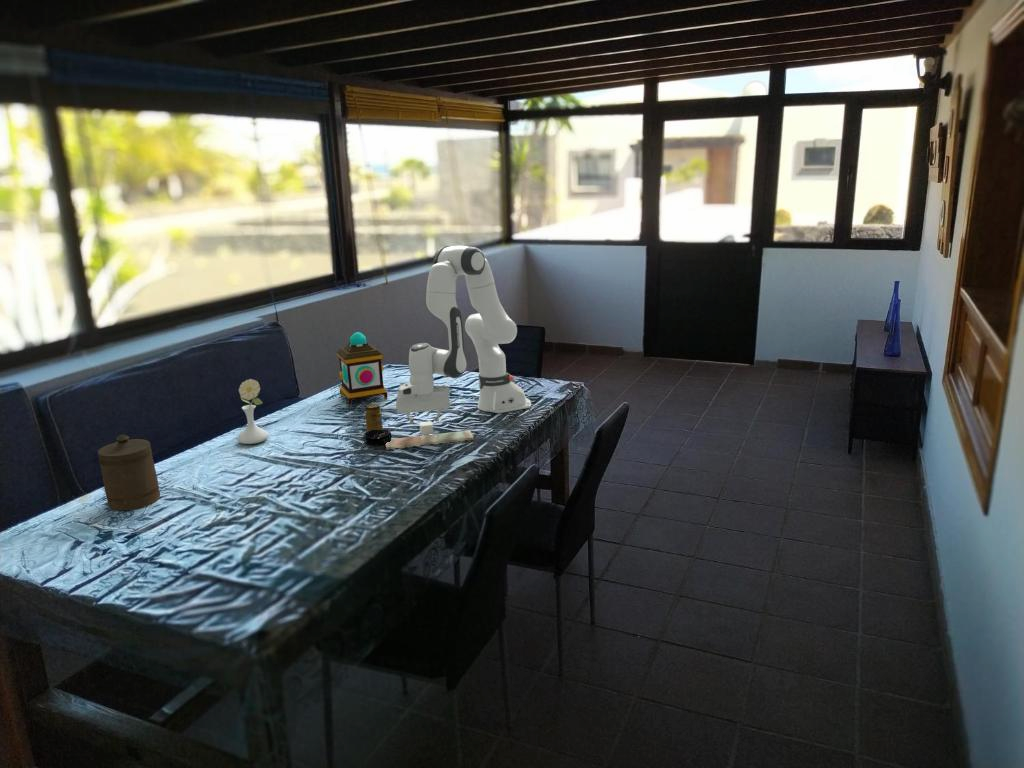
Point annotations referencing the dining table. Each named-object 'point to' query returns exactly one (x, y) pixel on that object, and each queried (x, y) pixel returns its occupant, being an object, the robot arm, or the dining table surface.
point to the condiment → (373, 417)
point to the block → (426, 428)
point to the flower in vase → (251, 414)
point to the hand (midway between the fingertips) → (424, 421)
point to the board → (429, 439)
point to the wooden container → (129, 474)
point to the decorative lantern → (360, 369)
